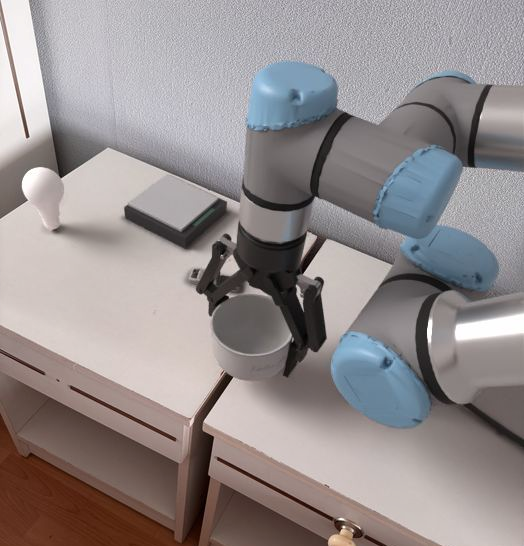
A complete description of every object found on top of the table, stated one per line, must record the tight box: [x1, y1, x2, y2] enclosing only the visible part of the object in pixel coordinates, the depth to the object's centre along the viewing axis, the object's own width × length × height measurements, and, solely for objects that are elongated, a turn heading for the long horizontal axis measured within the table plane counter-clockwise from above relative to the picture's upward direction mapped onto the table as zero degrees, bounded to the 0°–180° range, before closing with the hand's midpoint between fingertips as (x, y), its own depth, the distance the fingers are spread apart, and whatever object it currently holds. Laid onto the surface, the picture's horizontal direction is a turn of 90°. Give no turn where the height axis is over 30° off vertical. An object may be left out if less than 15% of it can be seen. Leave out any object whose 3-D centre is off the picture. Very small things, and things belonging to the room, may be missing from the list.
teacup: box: [209, 293, 294, 382], centre depth 69 cm, size 14×11×8 cm
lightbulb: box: [21, 166, 65, 230], centre depth 83 cm, size 6×6×11 cm
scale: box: [123, 173, 228, 250], centre depth 92 cm, size 13×13×3 cm
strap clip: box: [188, 267, 242, 293], centre depth 82 cm, size 8×3×4 cm, turn 81°
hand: (253, 351), depth 72 cm, fingers closed on teacup, 11 cm apart
